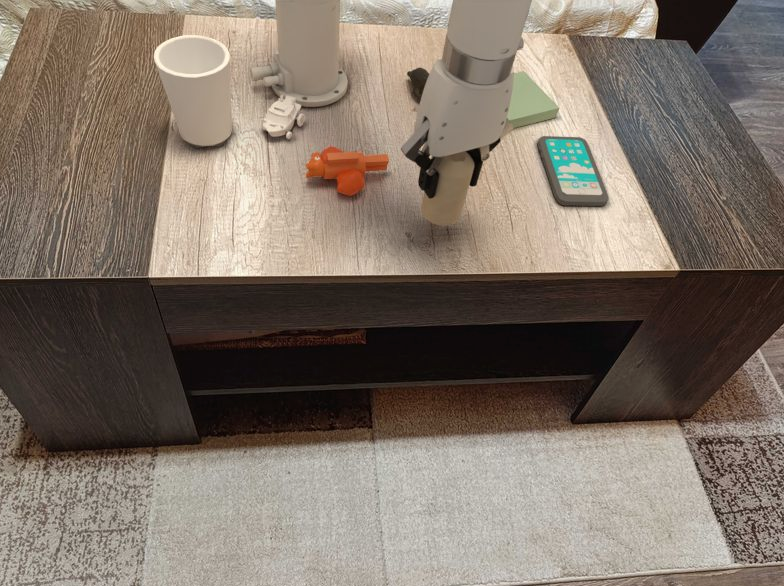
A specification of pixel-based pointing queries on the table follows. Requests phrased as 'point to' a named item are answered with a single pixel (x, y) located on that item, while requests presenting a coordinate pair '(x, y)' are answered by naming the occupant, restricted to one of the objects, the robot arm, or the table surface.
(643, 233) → the table surface
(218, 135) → the cup
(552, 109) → the scale
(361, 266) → the table surface
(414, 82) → the statue
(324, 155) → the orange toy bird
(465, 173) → the candle
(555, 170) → the smartphone
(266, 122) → the toy car
